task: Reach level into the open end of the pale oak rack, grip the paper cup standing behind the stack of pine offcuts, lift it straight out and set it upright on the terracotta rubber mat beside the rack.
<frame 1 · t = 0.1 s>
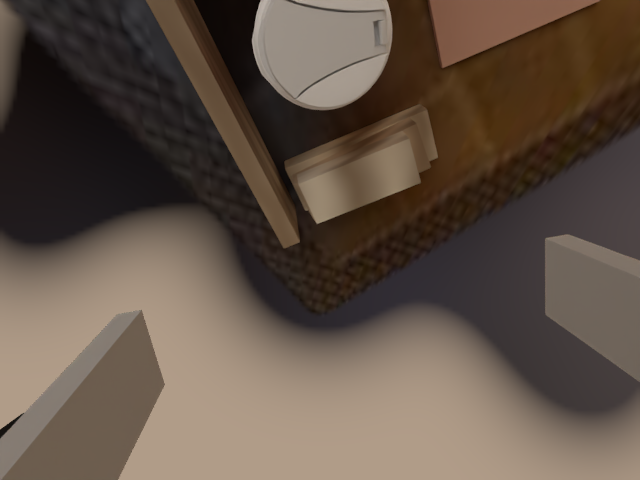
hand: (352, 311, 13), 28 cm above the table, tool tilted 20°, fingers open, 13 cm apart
paper cup: (303, 19, 33), on the table
oak rack: (304, 19, 32), on the table
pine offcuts: (365, 169, 37), on the table
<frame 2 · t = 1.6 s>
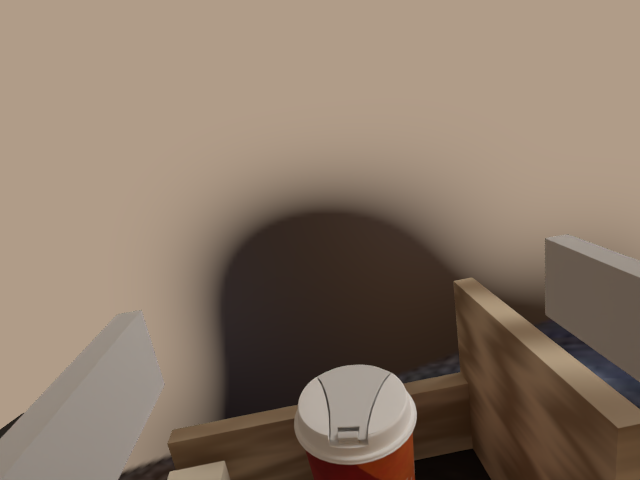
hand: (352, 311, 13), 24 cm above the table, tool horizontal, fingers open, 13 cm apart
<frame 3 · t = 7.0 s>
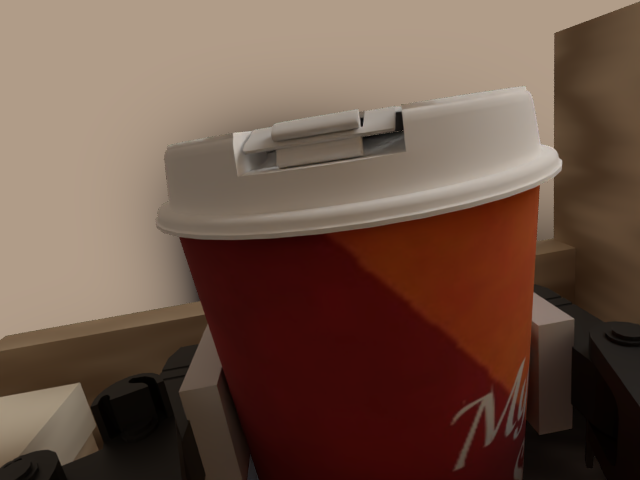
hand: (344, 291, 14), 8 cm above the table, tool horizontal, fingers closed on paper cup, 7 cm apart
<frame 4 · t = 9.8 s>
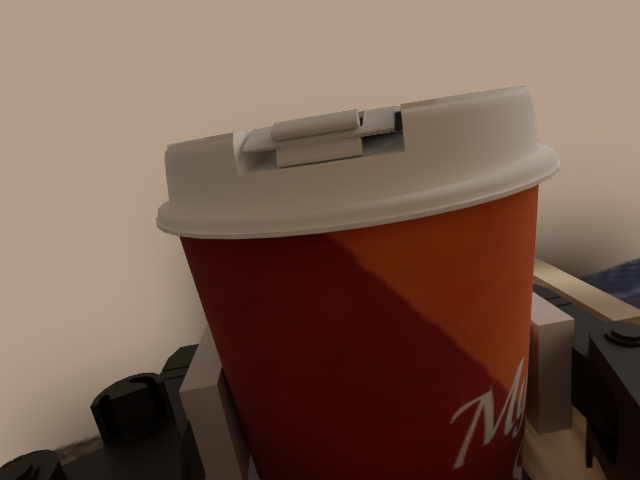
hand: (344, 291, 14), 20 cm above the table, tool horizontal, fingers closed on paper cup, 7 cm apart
when the fingers open (10 cm above the table, at t = 12.8 s): paper cup drops 1 cm, resting on terracotta mat.
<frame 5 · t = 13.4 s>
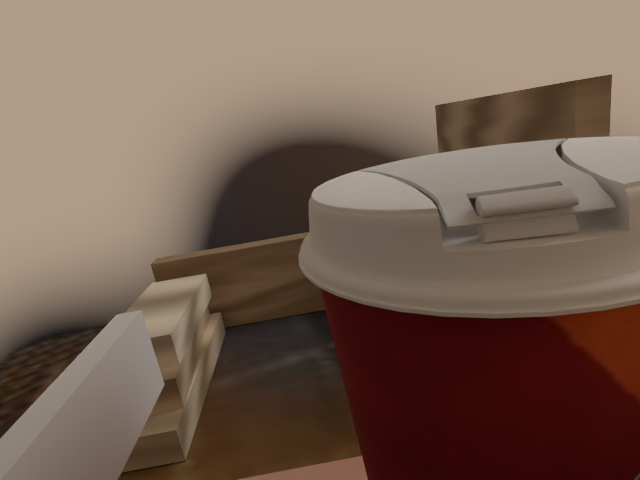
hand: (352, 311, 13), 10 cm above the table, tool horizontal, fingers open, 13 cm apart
oak rack: (355, 350, 29), on the table
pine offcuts: (161, 351, 27), on the table
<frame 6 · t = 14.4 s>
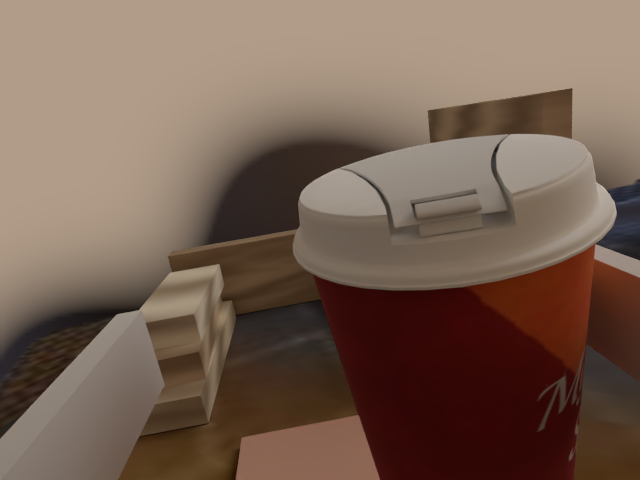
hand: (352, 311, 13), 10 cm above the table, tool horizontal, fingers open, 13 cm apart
oak rack: (355, 332, 32), on the table
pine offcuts: (181, 332, 30), on the table
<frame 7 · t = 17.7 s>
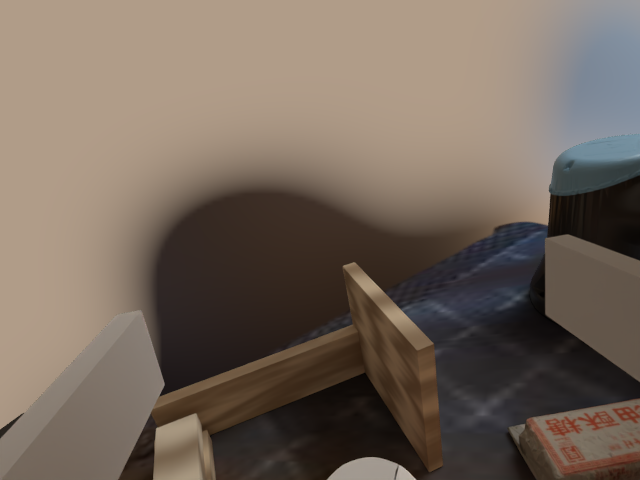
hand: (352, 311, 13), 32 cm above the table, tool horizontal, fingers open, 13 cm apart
oak rack: (308, 449, 45), on the table
packaged product: (625, 463, 38), on the table
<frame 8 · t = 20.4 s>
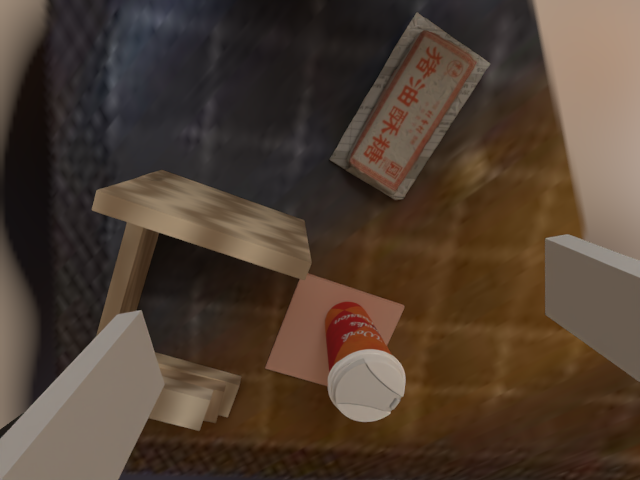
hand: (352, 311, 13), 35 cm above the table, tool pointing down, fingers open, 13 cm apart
paper cup: (345, 320, 51), resting on terracotta mat
oak rack: (209, 288, 49), on the table
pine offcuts: (177, 393, 49), on the table
terracotta mat: (333, 335, 52), on the table
packaged product: (404, 113, 46), on the table
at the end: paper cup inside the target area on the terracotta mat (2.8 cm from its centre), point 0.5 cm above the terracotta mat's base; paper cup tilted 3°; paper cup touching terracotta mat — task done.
